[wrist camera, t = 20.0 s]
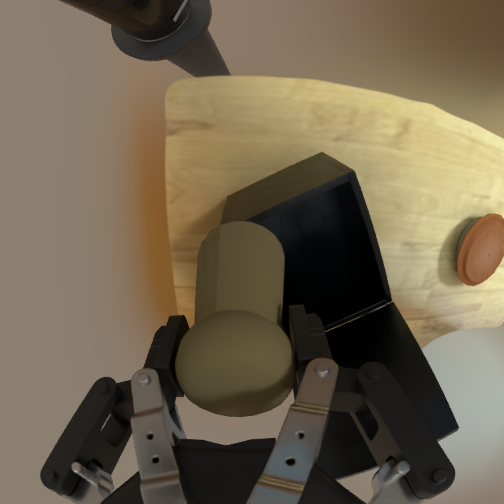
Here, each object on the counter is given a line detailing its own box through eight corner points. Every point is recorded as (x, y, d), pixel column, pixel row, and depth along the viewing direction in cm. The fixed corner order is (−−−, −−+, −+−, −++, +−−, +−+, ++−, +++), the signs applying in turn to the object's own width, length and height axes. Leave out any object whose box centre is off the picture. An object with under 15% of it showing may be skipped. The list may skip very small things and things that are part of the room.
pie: (439, 279, 46) (451, 294, 42) (458, 204, 39) (474, 215, 34) (485, 273, 46) (497, 285, 41) (504, 208, 39) (519, 218, 34)
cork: (286, 292, 21) (309, 425, 11) (207, 300, 21) (184, 431, 11) (281, 215, 18) (315, 342, 8) (189, 226, 18) (134, 352, 9)
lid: (304, 486, 18) (321, 492, 20) (459, 427, 15) (451, 442, 17) (286, 346, 34) (301, 368, 37) (393, 301, 31) (398, 328, 34)
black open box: (227, 196, 39) (217, 233, 28) (322, 151, 36) (354, 170, 24) (279, 289, 46) (287, 345, 35) (360, 253, 43) (392, 301, 32)
